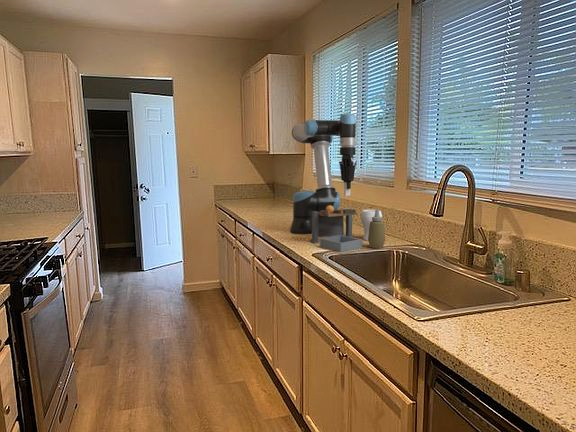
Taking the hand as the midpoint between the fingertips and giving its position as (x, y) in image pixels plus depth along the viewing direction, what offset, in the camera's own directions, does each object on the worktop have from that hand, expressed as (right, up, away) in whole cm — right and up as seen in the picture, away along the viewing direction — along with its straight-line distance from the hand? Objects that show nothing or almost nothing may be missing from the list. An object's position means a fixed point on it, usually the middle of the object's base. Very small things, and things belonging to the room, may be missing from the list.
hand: (347, 195), depth 206 cm
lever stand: (-6, -23, +9) cm, 25 cm away
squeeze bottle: (+13, -25, -8) cm, 29 cm away
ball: (-8, -7, +1) cm, 11 cm away
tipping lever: (-5, -21, +6) cm, 22 cm away
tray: (-4, -25, -7) cm, 26 cm away
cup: (+14, -22, +11) cm, 28 cm away
